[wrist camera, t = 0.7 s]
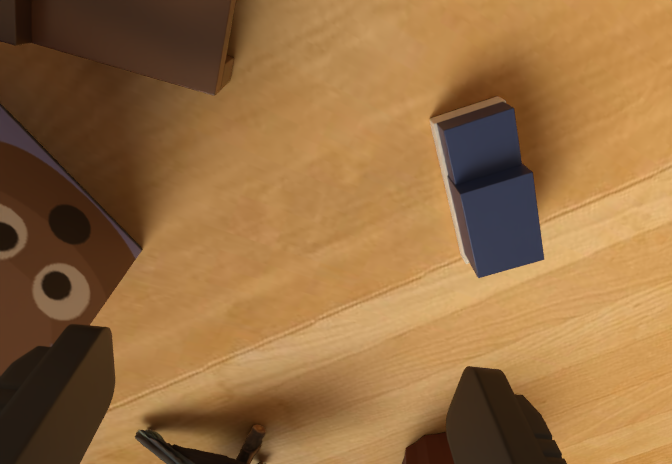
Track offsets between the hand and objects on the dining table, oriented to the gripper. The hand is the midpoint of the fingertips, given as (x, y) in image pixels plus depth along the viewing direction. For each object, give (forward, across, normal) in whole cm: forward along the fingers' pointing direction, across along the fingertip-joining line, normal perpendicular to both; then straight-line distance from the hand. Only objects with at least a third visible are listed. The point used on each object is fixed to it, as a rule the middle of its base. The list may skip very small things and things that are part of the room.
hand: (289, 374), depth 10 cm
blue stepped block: (+25, -13, +3) cm, 28 cm away
